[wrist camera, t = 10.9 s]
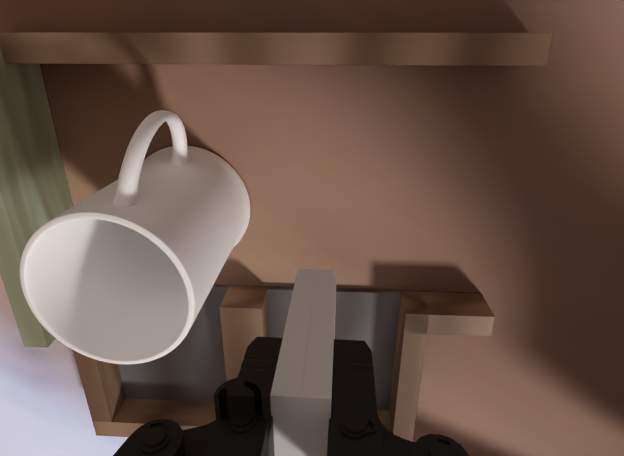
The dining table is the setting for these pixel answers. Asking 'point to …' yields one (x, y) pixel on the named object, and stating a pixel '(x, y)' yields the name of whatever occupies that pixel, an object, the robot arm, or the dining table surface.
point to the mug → (137, 251)
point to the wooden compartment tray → (224, 298)
